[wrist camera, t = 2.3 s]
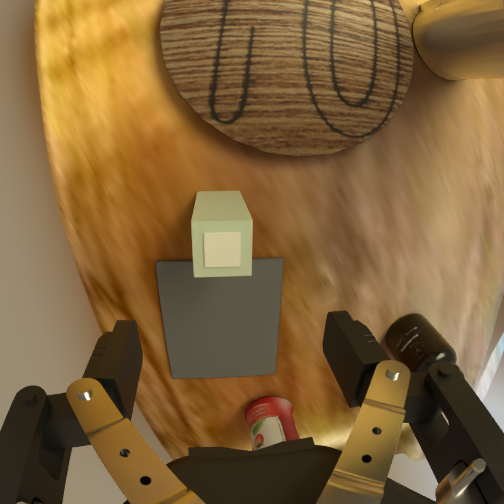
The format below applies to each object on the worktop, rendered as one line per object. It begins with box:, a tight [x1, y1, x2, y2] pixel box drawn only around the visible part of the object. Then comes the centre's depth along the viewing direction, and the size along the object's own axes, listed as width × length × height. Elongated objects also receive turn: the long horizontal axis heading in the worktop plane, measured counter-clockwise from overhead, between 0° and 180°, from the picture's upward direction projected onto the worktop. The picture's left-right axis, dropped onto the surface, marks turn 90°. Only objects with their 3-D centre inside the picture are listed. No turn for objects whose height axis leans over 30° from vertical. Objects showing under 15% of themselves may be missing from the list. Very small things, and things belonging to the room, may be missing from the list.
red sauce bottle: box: [245, 396, 300, 451], centre depth 29 cm, size 7×7×28 cm
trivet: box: [160, 0, 414, 157], centre depth 24 cm, size 25×25×2 cm
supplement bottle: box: [386, 313, 464, 377], centre depth 35 cm, size 7×7×12 cm
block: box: [191, 191, 253, 277], centre depth 26 cm, size 4×4×10 cm
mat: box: [156, 258, 283, 379], centre depth 35 cm, size 16×13×1 cm
